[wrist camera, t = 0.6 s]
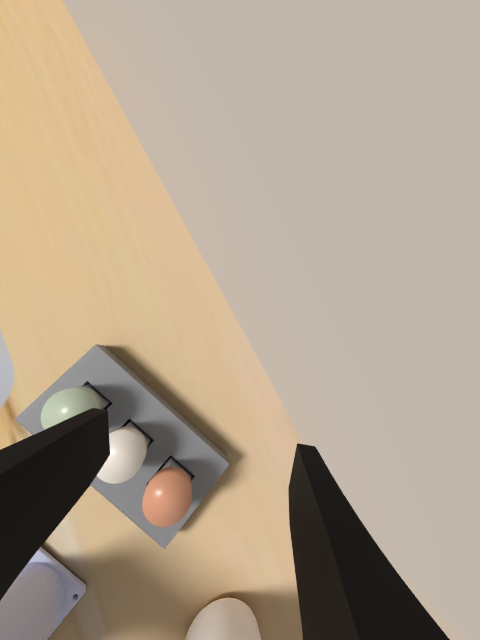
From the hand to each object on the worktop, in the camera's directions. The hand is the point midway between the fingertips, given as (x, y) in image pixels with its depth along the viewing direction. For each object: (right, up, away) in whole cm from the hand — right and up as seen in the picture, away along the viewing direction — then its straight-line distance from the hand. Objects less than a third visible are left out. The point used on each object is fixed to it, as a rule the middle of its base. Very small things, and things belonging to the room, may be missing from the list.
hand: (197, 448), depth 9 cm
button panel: (-11, -9, +18) cm, 23 cm away
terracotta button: (-6, -13, +17) cm, 22 cm away
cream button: (-10, -8, +17) cm, 21 cm away
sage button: (-15, -4, +17) cm, 23 cm away
